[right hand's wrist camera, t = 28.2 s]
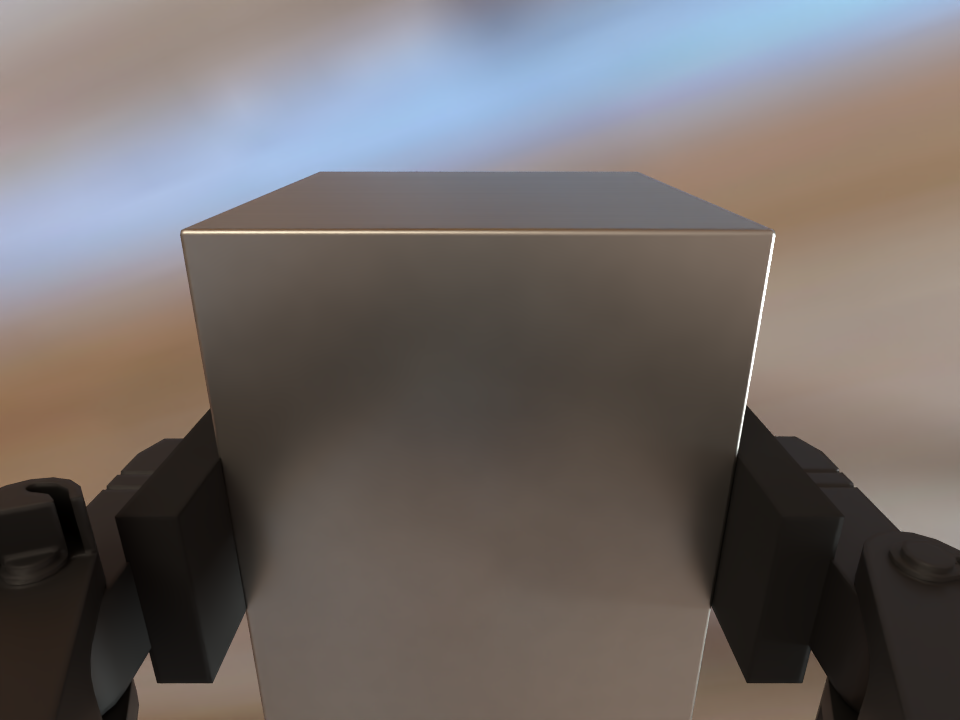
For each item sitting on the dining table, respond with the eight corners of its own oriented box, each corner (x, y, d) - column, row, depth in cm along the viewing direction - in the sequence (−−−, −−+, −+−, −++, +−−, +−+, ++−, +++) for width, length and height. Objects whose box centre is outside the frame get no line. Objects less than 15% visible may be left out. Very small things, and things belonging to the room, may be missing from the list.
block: (639, 171, 14) (778, 230, 8) (610, 501, 18) (689, 743, 11) (317, 171, 14) (177, 229, 8) (347, 501, 18) (267, 743, 11)
